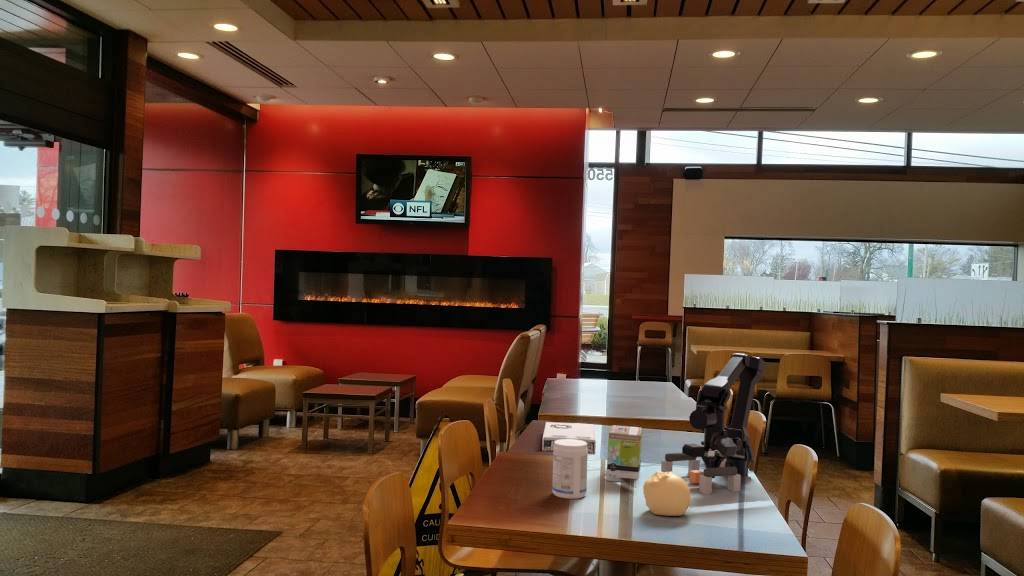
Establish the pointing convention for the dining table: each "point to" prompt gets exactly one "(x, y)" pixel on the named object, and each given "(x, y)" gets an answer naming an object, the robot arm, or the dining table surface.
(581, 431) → the flat white box
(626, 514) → the dining table surface
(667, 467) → the grey u-shaped handle
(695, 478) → the block
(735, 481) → the grey bar with posts
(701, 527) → the dining table surface
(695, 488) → the panel
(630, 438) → the tea box
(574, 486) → the supplement tub
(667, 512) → the tan rounded lump
